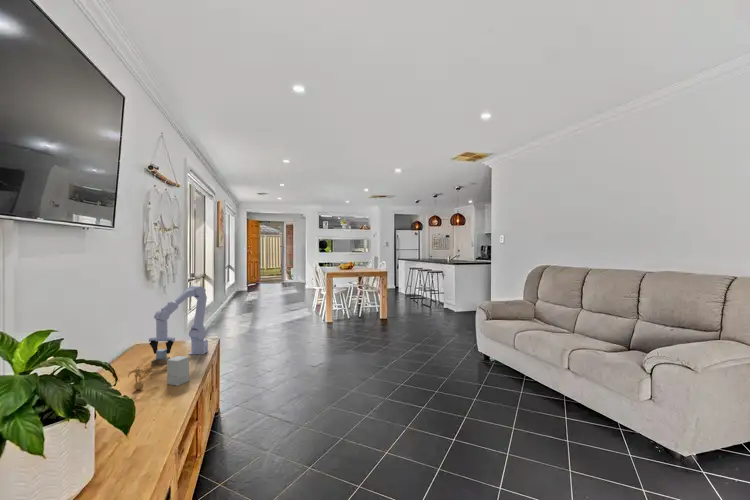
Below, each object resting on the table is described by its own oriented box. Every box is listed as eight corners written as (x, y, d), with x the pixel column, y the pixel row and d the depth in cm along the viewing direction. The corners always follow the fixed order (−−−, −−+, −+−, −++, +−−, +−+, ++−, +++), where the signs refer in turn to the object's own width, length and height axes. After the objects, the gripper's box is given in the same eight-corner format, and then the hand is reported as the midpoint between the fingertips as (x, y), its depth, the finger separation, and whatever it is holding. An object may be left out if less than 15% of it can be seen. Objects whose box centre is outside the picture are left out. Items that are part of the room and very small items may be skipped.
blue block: (166, 357, 216) (166, 349, 216) (163, 359, 212) (163, 351, 212) (159, 357, 216) (160, 349, 216) (156, 359, 212) (156, 351, 212)
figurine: (149, 386, 178) (149, 363, 178) (147, 391, 172) (146, 366, 172) (129, 389, 175) (129, 365, 174) (126, 394, 169) (126, 369, 169)
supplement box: (189, 380, 186) (189, 356, 186) (177, 386, 179) (177, 361, 179) (178, 379, 188) (178, 355, 188) (166, 384, 181) (166, 359, 181)
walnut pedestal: (169, 361, 217) (169, 356, 217) (163, 365, 210) (163, 360, 210) (157, 361, 217) (157, 356, 217) (151, 365, 210) (151, 360, 210)
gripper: (145, 332, 210) (145, 355, 210) (170, 332, 210) (170, 355, 210) (152, 329, 217) (152, 351, 217) (176, 329, 217) (177, 351, 217)
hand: (162, 353), depth 214 cm, fingers open, 7 cm apart
